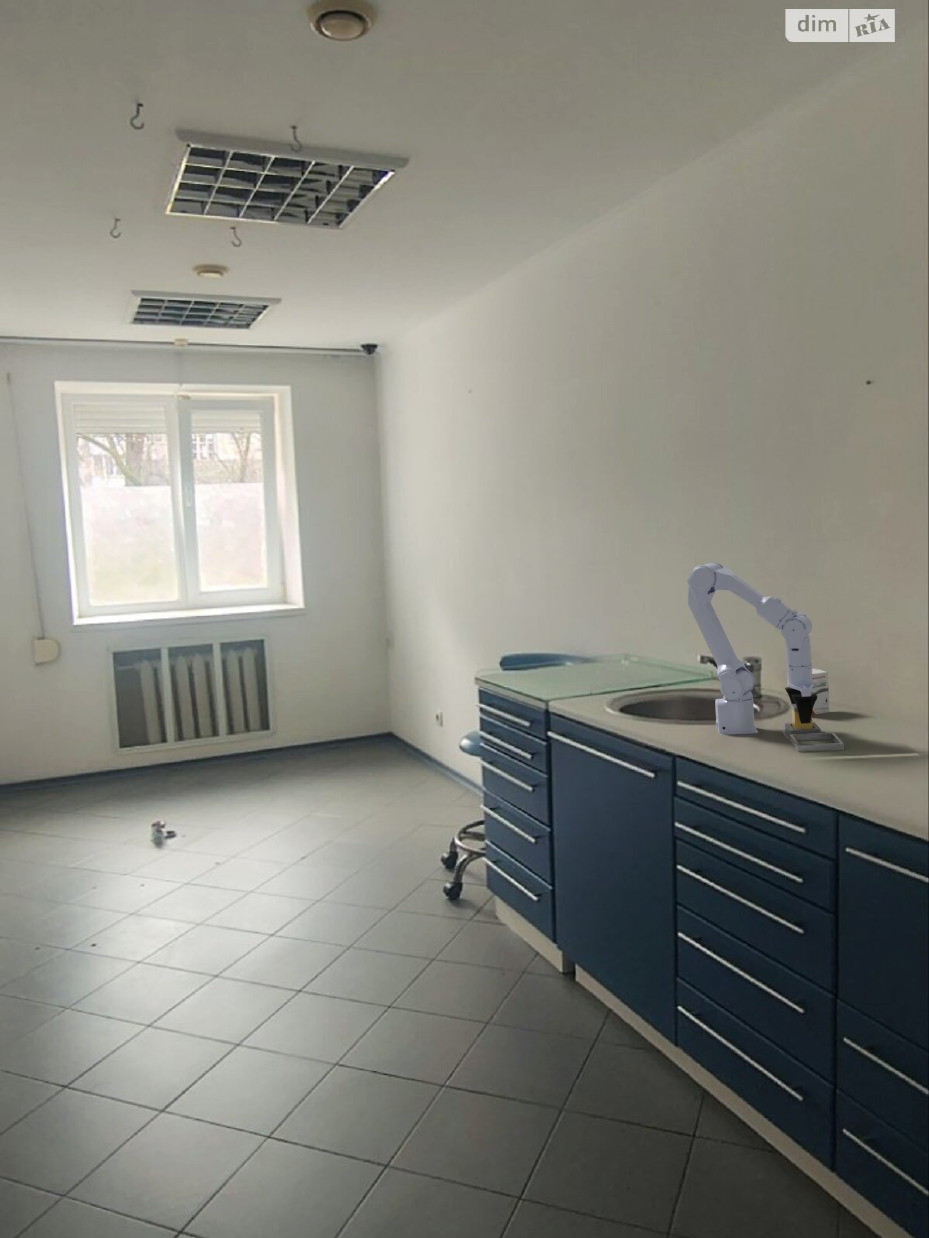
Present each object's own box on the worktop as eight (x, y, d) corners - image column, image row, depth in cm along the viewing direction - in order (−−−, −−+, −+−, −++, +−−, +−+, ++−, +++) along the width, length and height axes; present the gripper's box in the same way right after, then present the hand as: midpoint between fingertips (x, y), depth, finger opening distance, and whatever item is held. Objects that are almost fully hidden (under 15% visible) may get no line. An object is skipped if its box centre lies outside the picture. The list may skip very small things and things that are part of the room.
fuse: (795, 735, 213) (794, 707, 212) (792, 731, 217) (791, 704, 216) (813, 735, 213) (811, 706, 212) (809, 730, 216) (808, 703, 216)
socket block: (787, 741, 211) (786, 731, 211) (780, 731, 220) (779, 722, 220) (826, 739, 210) (825, 729, 209) (818, 730, 218) (817, 720, 218)
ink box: (802, 718, 231) (800, 674, 229) (791, 715, 235) (789, 672, 234) (830, 714, 232) (828, 670, 231) (819, 710, 237) (817, 667, 236)
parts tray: (798, 754, 201) (797, 745, 200) (790, 742, 210) (789, 734, 210) (844, 752, 199) (843, 743, 198) (833, 740, 208) (833, 732, 208)
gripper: (823, 669, 205) (826, 725, 207) (810, 658, 219) (813, 711, 221) (791, 671, 206) (794, 727, 208) (780, 660, 221) (783, 713, 222)
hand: (802, 719), depth 214 cm, fingers open, 7 cm apart
